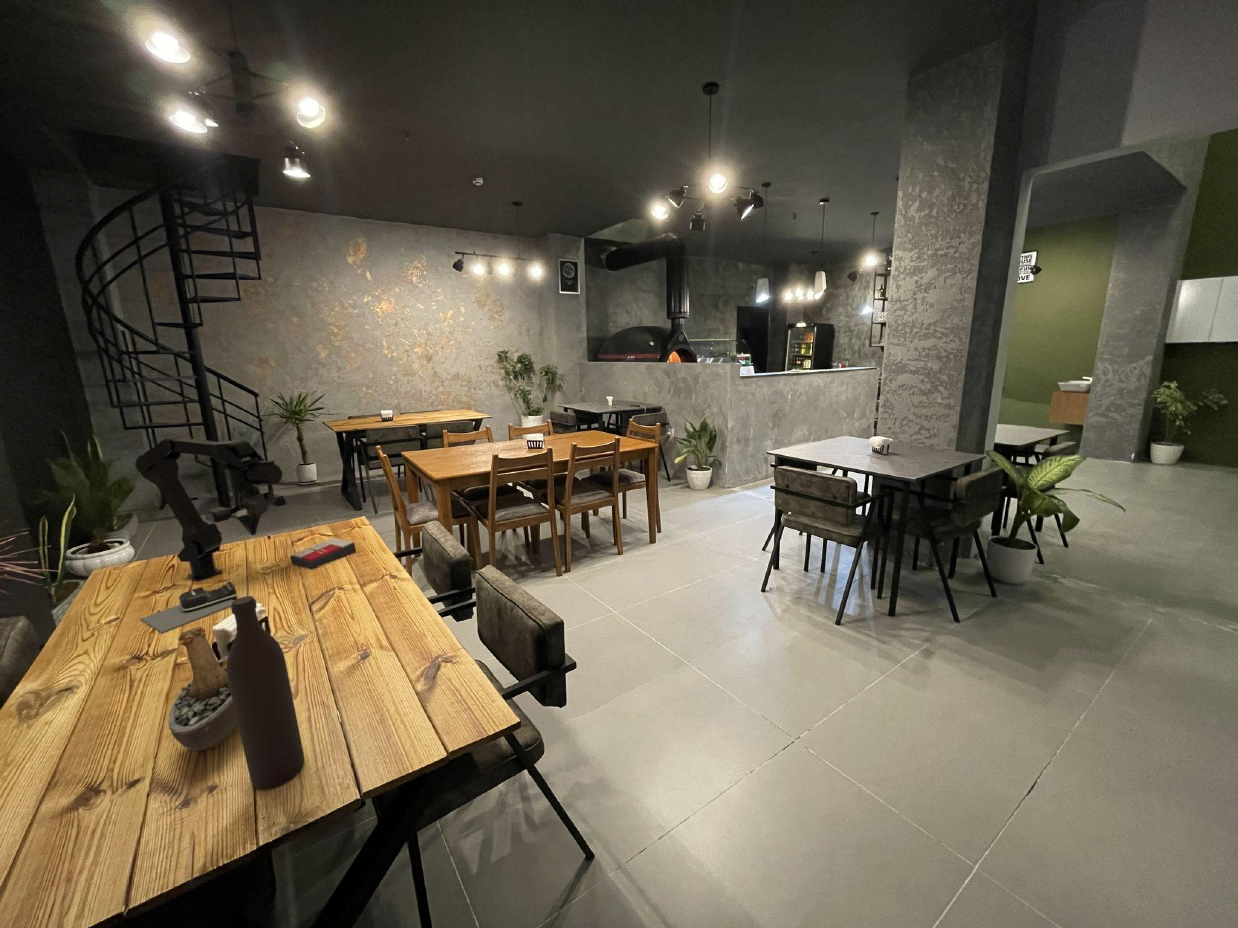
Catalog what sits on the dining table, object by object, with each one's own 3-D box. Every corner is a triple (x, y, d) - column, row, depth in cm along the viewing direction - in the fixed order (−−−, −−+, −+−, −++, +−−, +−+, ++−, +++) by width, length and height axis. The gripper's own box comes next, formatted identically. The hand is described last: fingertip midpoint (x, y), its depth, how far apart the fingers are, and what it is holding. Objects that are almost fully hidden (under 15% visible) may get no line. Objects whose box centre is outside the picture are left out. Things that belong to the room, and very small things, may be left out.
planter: (246, 689, 97) (226, 597, 93) (291, 719, 89) (271, 620, 85) (149, 740, 85) (120, 637, 80) (190, 780, 77) (161, 668, 72)
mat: (140, 619, 124) (140, 618, 124) (215, 592, 138) (215, 591, 138) (162, 633, 118) (161, 631, 118) (238, 603, 132) (238, 602, 131)
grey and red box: (288, 554, 156) (333, 535, 168) (291, 566, 157) (335, 547, 170) (310, 560, 151) (354, 540, 164) (313, 572, 152) (356, 552, 165)
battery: (236, 584, 133) (181, 600, 125) (238, 597, 134) (184, 614, 126) (229, 577, 138) (176, 592, 129) (232, 589, 139) (179, 605, 130)
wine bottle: (301, 747, 83) (268, 584, 76) (309, 773, 77) (275, 600, 71) (249, 770, 78) (210, 599, 71) (254, 800, 73) (212, 618, 66)
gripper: (218, 496, 130) (229, 551, 134) (292, 479, 146) (300, 529, 149) (198, 491, 136) (210, 544, 139) (272, 475, 151) (281, 523, 155)
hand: (253, 534), depth 145 cm, fingers closed
